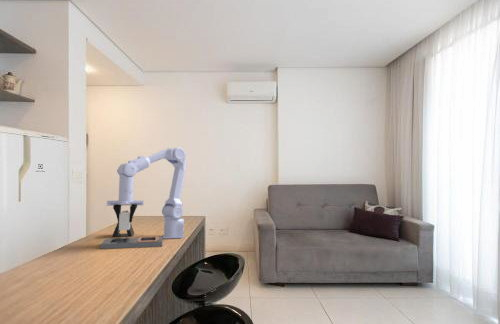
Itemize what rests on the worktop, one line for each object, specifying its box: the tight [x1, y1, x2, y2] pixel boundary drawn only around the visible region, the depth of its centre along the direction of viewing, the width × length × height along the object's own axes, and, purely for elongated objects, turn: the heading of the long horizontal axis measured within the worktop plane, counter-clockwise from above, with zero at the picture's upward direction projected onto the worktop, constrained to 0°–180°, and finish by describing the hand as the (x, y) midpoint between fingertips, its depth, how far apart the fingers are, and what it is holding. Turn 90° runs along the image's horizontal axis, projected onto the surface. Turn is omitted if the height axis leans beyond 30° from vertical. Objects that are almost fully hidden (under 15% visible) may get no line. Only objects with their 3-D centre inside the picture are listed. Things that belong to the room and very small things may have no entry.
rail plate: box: [100, 236, 164, 250], centre depth 124 cm, size 24×10×2 cm, turn 106°
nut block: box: [119, 211, 130, 231], centre depth 123 cm, size 4×4×7 cm
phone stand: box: [111, 210, 135, 238], centre depth 142 cm, size 9×6×12 cm, turn 100°
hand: (124, 222), depth 123 cm, fingers closed on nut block, 4 cm apart
